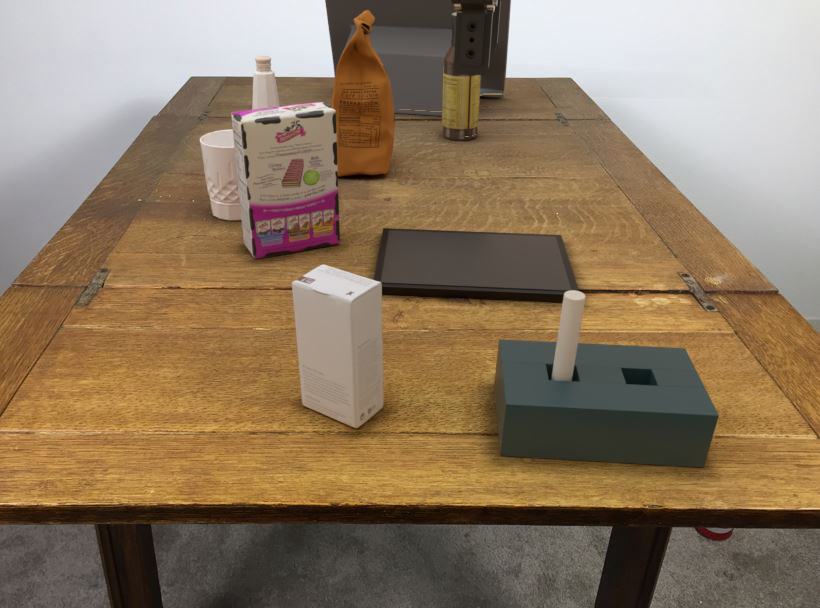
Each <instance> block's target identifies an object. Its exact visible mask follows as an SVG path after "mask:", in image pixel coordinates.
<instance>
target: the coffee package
mask: <svg viewBox="0 0 820 608" xmlns="http://www.w3.org/2000/svg"><path fill="white" fill-rule="evenodd" d="M374 21H375V17H374V16H373V15H372V14H371V13H370V11H369V10H366V11H364V12H363V13H362V14H360V15H359V16H357V17H356V18H354V23H355V25H356V27H357V30H356V32H355V34H354V35H353V37H352V38H351V40H350V41H349V43H348V45H347V46H346V48H345V49H344V51H343V53H342V55H341V57H340V60H339V63H338V65H337V70H336V76H335V75H334V82H333V87H332V92H331V101H330V107H331V108H332V109H334V110H336V134H337V163H338V178H341V177H346V176H348V177H349V176H358V175H365V176H366V175H367V176H377V175H382V174H384V175H385V174H387V173H388V172H389V170H390V166H391V161H392V157H393V150H394V141H395V125H396V124H395V123H396V122H395V121H396V119H395V118H396V117H395V113H394V106H393V97H392V89H391V83H390V80H389V77H388V74H387V71H386V69H385V67H384V65H383V63H382V61H381V59H380V58H379V56H378V55H377V53H376V52H375V50H374V49H373V48H372V44H371V41H370V37H369V34H370V33H371V32H372V29H371V25H372V24H373V23H374Z"/></svg>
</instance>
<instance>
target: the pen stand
mask: <svg viewBox="0 0 820 608" xmlns="http://www.w3.org/2000/svg"><path fill="white" fill-rule="evenodd" d="M497 344H498V345H497V354H496V363H495V373H494V381H493V382H494V384H493V391H494V405H495V413H496V425H497V436H498V437H497V438H498V447H499V448H498V449H499V456H500V457H515V458H532V459H533V458H534V459H548V460H563V461H564V460H565V461H583V462H600V463H602V462H603V463H618V464H634V465H635V464H637V465H649V466H650V465H652V466H668V467H685V468H686V467H687V468H705V466H706V462H707V458H708V454H709V452H710V448H711V445H712V441H713V437H714V434H715V430H716V427H717V424H718V420H719V416H720V415H719V413H718V411H717V409H716V407H715V405H714V403H713V401H712V398H711V397H710V394H709V393H708V390H707V389H706V386H705V385H704V382H703V381H702V379H701V376H700V374H699V372H698V371H697V369H696V367H695V365H694V363H693V361H692V359H691V357H690V355H689V353H688V351H687V349H686V348H685V347H671V346H670V347H669V346H668V347H667V346H649V345H648V346H647V345H646V346H645V345H629V344H627V345H626V344H607V343H606V344H605V343H587V342H586V343H583V342H578V346H577V352H576V358H575V364H574V370H573V376H572V381H555V380H551V378H552V371H553V364H554V358H555V351H556V344H557V341H543V340H541V341H539V340H524V339H523V340H521V339H505V338H503V339H501V338H500V339H498V343H497Z"/></svg>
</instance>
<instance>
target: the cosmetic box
mask: <svg viewBox="0 0 820 608" xmlns="http://www.w3.org/2000/svg"><path fill="white" fill-rule="evenodd" d="M291 291H292V303H293V313H294V325H295V336H296V347H297V349H296V350H297V360H298V370H299V382H300V395H301V405H302V406H303V407H305V408H308V409H310V410H313V411H315V412H317V413H320V414H322V415H324V416H327V417H328V418H331V419H333V420H336V421H338V422H340V423H342V424H344V425H347V426H349V427H352V428H354V429H358V428H359V427H361V426H363V425H364V424H365V423H367V422H368V421H369V420H370V419H371V418H372V417H374V416H375V415H376V414H377V413H379V411H381V410H382V409H383V407H384V404H385V403H384V399H385V398H384V350H383V349H384V348H383V346H384V345H383V344H384V343H383V294H382V283H381V282H378V281H375V280H374V279H371V278H369V277H365V276H362V275H359V274H355V273H353V272H350V271H346V270H343V269H340V268H337V267H333V266H330V265H327V264H325V263H324V264H321V265H318V266H317V267H315V268H313V269H312V270H310V271H309V272H307V273H304V274H303V275H301V276H300V277H299V278H297V279H295V280H293V281H292V282H291Z"/></svg>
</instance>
